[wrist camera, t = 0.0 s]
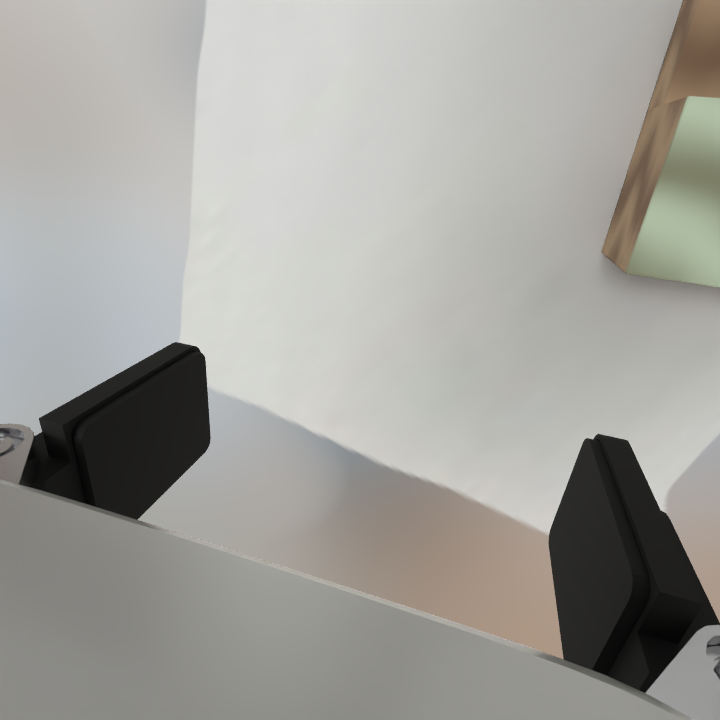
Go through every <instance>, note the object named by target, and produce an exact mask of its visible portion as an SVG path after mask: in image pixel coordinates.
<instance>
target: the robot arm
mask: <svg viewBox="0 0 720 720" xmlns="http://www.w3.org/2000/svg"><path fill="white" fill-rule="evenodd" d="M39 421H40V425H41V428H42V432H41V433H39V434H38V435H36V436H34V432H33V431H32V430H31V429H30V428H29V427H26V426H24V425H19V424H0V720H720V623H719V621H718V619H717V617H716V615H715V612H714V610H713V608H712V606H711V604H710V602H709V600H708V598H707V596H706V594H705V592H704V590H703V588H702V585H701V583H700V581H699V579H698V577H697V575H696V573H695V571H694V569H693V566H692V564H691V562H690V560H689V558H688V556H687V554H686V552H685V550H684V548H683V546H682V543H681V541H680V540H679V537H678V535H677V533H676V531H675V529H674V527H673V525H672V523H671V521H670V519H669V517H668V516H667V514H666V513H664V512H663V511H660V508H659V506H658V504H657V502H656V500H655V498H654V495H653V493H652V491H651V489H650V487H649V485H648V482H647V480H646V478H645V476H644V474H643V472H642V470H641V467H640V465H639V463H638V461H637V459H636V457H635V454H634V452H633V450H632V448H631V446H630V444H629V442H628V441H627V440H624V439H619V438H614V437H610V436H605V435H601V434H598V435H596V436H595V437H594V439H588V438H587V439H585V440H584V442H583V444H582V447H581V450H580V452H579V455H578V458H577V460H576V463H575V465H574V468H573V471H572V473H571V476H570V479H569V481H568V484H567V487H566V489H565V492H564V495H563V497H562V500H561V503H560V505H559V508H558V511H557V513H556V516H555V519H554V521H553V524H552V527H551V530H550V534H549V550H550V558H551V566H552V573H553V581H554V588H555V596H556V604H557V611H558V619H559V626H560V634H561V641H562V650H563V657H564V660H563V659H561V658H558V657H555V656H552V655H550V654H547V653H544V652H541V651H539V650H536V649H533V648H530V647H527V646H525V645H521V644H518V643H516V642H513V641H510V640H506V639H504V638H501V637H498V636H494V635H492V634H489V633H485V632H483V631H480V630H477V629H474V628H471V627H468V626H465V625H462V624H460V623H456V622H453V621H450V620H447V619H444V618H441V617H438V616H435V615H432V614H429V613H425V612H423V611H420V610H417V609H414V608H410V607H407V606H404V605H401V604H398V603H395V602H392V601H389V600H386V599H383V598H380V597H376V596H373V595H370V594H368V593H364V592H361V591H358V590H355V589H352V588H349V587H346V586H343V585H340V584H337V583H334V582H331V581H328V580H324V579H321V578H318V577H315V576H312V575H309V574H306V573H303V572H299V571H296V570H293V569H290V568H287V567H284V566H281V565H278V564H275V563H272V562H268V561H265V560H262V559H259V558H256V557H253V556H250V555H247V554H243V553H240V552H237V551H234V550H231V549H227V548H225V547H221V546H218V545H215V544H212V543H209V542H206V541H202V540H199V539H196V538H193V537H190V536H187V535H184V534H181V533H177V532H174V531H170V530H168V529H164V528H161V527H158V526H155V525H152V524H149V523H145V522H142V521H139V520H137V519H138V518H140V516H141V515H142V514H144V513H145V511H146V510H147V509H149V508H150V506H152V505H153V504H154V503H155V502H156V500H157V499H158V498H160V497H161V495H163V494H164V492H166V491H167V490H168V489H169V488H170V487H171V486H172V485H173V484H174V483H175V482H176V481H177V480H178V479H179V478H180V477H181V476H182V475H183V474H184V473H185V472H186V471H187V470H188V469H189V468H190V467H191V466H192V465H193V464H194V463H195V462H196V461H197V460H198V459H199V458H200V457H201V456H202V455H203V454H204V453H205V452H206V450H207V448H208V447H209V444H210V424H209V409H208V393H207V378H206V362H205V357H204V355H203V354H202V353H201V352H200V350H199V348H198V347H196V346H191V345H187V344H182V343H177V342H175V343H172V344H171V345H169V346H167V347H165V348H163V349H162V350H160V351H158V352H156V353H154V354H153V355H151V356H149V357H147V358H146V359H144V360H142V361H140V362H138V363H137V364H135V365H133V366H131V367H130V368H128V369H126V370H124V371H123V372H121V373H119V374H117V375H115V376H114V377H112V378H110V379H108V380H106V381H105V382H103V383H101V384H99V385H98V386H96V387H94V388H92V389H91V390H89V391H87V392H85V393H83V394H82V395H80V396H78V397H76V398H74V399H73V400H71V401H69V402H67V403H66V404H64V405H62V406H60V407H58V408H57V409H55V410H53V411H51V412H50V413H48V414H46V415H44V416H42V417H41V418H39Z"/></svg>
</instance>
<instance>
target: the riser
mask: <svg viewBox="0 0 720 720" xmlns="http://www.w3.org/2000/svg"><path fill="white" fill-rule="evenodd" d="M602 253H603V254H604V255H605V256H607V257H608V258H609V259H610V260H611V261H612V262H613V263H614V264H616V265H617V266H618V267H619V268H620V269H621V270H622V271H623V272H625V273H626V274H631V275H638V276H645V277H652V278H658V279H665V280H672V281H679V282H686V283H693V284H700V285H707V286H713V287H720V0H683V3H682V6H681V9H680V12H679V15H678V18H677V21H676V24H675V28H674V31H673V34H672V37H671V40H670V43H669V46H668V49H667V52H666V55H665V58H664V61H663V64H662V68H661V71H660V74H659V77H658V80H657V83H656V86H655V89H654V92H653V95H652V98H651V101H650V104H649V108H648V111H647V114H646V117H645V120H644V123H643V126H642V129H641V132H640V135H639V138H638V141H637V144H636V148H635V151H634V154H633V157H632V160H631V163H630V166H629V169H628V172H627V175H626V178H625V181H624V184H623V188H622V191H621V194H620V197H619V200H618V203H617V206H616V209H615V212H614V215H613V218H612V221H611V225H610V228H609V231H608V234H607V237H606V240H605V243H604V246H603V249H602Z"/></svg>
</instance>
